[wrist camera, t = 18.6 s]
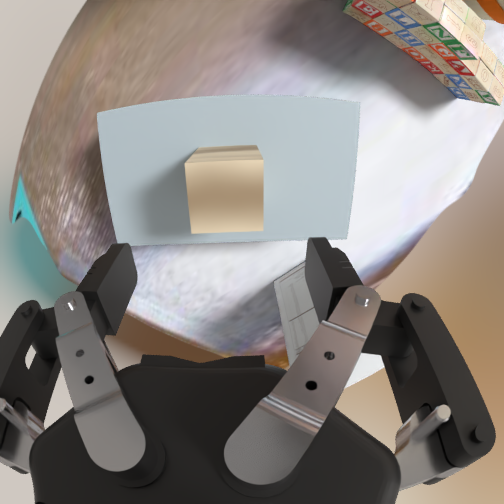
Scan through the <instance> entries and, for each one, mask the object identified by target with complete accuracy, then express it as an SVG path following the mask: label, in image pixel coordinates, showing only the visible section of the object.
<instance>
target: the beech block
mask: <svg viewBox="0 0 504 504" xmlns="http://www.w3.org/2000/svg"><path fill="white" fill-rule="evenodd" d="M185 174H186V185H187V196H188V206H189V215H190V224H191V232H192V234H197V233H222V232H250V231H263V223H264V160H263V157H262V155H261V153H260V151H259V149H258V147H257V145H235V146H213V147H199V148H198V149H197V150H196V151H195V152H194V153H193V154H192V156H191V157H190V158H189V159H188V160H187V161H186V162H185Z"/></svg>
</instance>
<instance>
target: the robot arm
mask: <svg viewBox="0 0 504 504" xmlns="http://www.w3.org/2000/svg"><path fill="white" fill-rule="evenodd" d="M305 280H306V283H307V286H308V289H309V292H310V296H311V299H312V302H313V305H314V308H315V311H316V314H317V318H318V321H319V324H320V325H319V326H318V328H317V329H316V331H315V332H314V334H313V335H312V337H311V338H310V340H309V341H308V343H307V344H306V345H305V347H304V348H303V350H302V351H301V353H300V354H299V355H298V357H297V358H296V360H295V361H294V362H293V364H292V365H291V367H290V368H289V369H288V371H286V370H284V369H282V368H279V367H276V366H272V365H267V364H265V359H264V355H260V356H233V357H228V358H224V359H220V360H215V361H210V362H205V363H197V362H192V361H188V360H184V359H180V358H177V357H173V356H160V355H142V359H141V363H139V364H135V365H131V366H128V367H126V368H124V369H122V370H120V371H119V370H118V368H117V366H116V364H115V362H114V359H113V358H112V355H111V353H110V351H109V349H108V346H107V344H106V342H105V340H104V338H105V335H116V333H117V331H118V328H119V326H120V323H121V320H122V318H123V316H124V313H125V311H126V308H127V306H128V303H129V301H130V298H131V296H132V294H133V291H134V289H135V287H136V284H137V270H136V266H135V263H134V259H133V255H132V251H131V247H130V245H129V244H128V243H114V244H112V245H111V246H110V248H109V249H108V251H107V252H106V254H103V255H102V256H101V257H99V258H98V259H97V260H96V261H95V262H94V264H93V265H92V267H91V269H89V271H88V272H87V275H85V277H84V279H83V280H82V282H81V283H80V285H79V286H78V288H77V290H76V291H72V292H68V293H66V294H64V295H62V296H61V297H60V298H59V299H58V300H57V301H56V303H55V305H54V307H52V308H48V309H41V307H40V305H39V303H38V302H37V301H35V300H30V301H27V302H25V303H23V304H22V305H20V306H19V308H17V310H16V311H15V313H14V315H13V316H12V318H11V319H10V321H9V323H8V324H7V326H6V328H5V330H4V331H3V333H2V335H1V337H0V462H1V463H3V464H4V465H6V466H9V467H10V468H12V469H14V470H16V471H17V472H19V473H22V474H27V473H31V477H32V481H33V487H34V495H35V504H395V501H396V498H397V495H398V492H399V491H401V490H404V489H407V488H410V487H413V486H415V485H418V484H421V483H423V484H427V485H431V484H435V483H437V482H439V481H441V480H443V479H445V478H447V477H449V476H451V475H453V474H454V473H456V472H458V471H460V470H462V469H463V468H465V467H467V466H468V465H470V464H471V463H473V462H475V461H476V460H478V459H480V458H481V457H483V456H484V455H486V454H487V453H488V452H489V451H490V450H491V449H492V447H493V445H494V443H495V438H496V435H495V434H496V433H495V428H494V425H493V422H492V420H491V417H490V415H489V412H488V410H487V407H486V405H485V403H484V400H483V398H482V396H481V394H480V391H479V389H478V387H477V385H476V383H475V381H474V379H473V376H472V374H471V372H470V370H469V368H468V366H467V364H466V362H465V360H464V358H463V356H462V355H461V353H460V351H459V349H458V347H457V346H456V344H455V342H454V340H453V338H452V336H451V334H450V333H449V331H448V329H447V328H446V326H445V324H444V322H443V321H442V319H441V317H440V316H439V314H438V313H437V311H436V309H435V308H434V306H433V305H432V303H431V302H430V301H429V300H428V299H427V298H425V297H424V296H422V295H419V294H415V293H409V294H406V295H405V296H403V298H402V300H401V302H400V303H394V302H386V301H382V300H381V298H380V296H379V294H378V293H377V292H376V291H375V290H373V289H372V288H369V287H367V286H364V285H363V284H362V282H361V280H360V278H359V276H358V275H357V273H356V271H355V269H354V268H353V266H352V264H351V263H350V262H349V259H348V258H347V256H346V254H345V253H344V252H342V251H341V250H340V249H338V248H332V247H331V245H330V243H329V242H328V240H327V238H326V237H309V238H308V242H307V252H306V261H305ZM31 345H32V346H33V348H34V349H35V351H36V354H35V357H34V359H33V361H32V364H31V366H30V368H29V370H28V368H27V367H26V363H25V357H26V354H27V352H28V350H29V348H30V346H31ZM361 353H365V354H373V355H381V358H382V361H383V364H384V366H385V369H386V372H387V375H388V378H389V381H390V384H391V387H392V390H393V393H394V396H395V400H396V403H397V406H398V410H399V413H400V416H401V420H402V423H403V425H402V426H401V427H400V428H399V430H398V431H397V434H396V439H395V440H396V450H395V453H394V454H393V453H392V451H391V450H390V449H389V448H388V447H387V446H385V445H384V444H383V443H381V442H380V441H378V440H377V439H376V438H374V437H373V436H371V435H370V434H369V433H367V432H366V431H365V430H363V429H362V428H361V427H359V426H358V425H357V424H356V423H354V422H353V421H351V420H350V419H349V418H348V417H346V416H345V415H344V414H342V413H341V412H340V411H339V410H337V409H336V408H335V405H336V403H337V401H338V400H339V397H340V396H341V394H342V392H343V390H344V388H345V386H346V384H347V382H348V380H349V378H350V376H351V374H352V372H353V370H354V368H355V366H356V364H357V361H358V359H359V357H360V355H361ZM61 367H62V370H63V373H64V376H65V380H66V384H67V387H68V390H69V394H70V397H71V400H72V403H73V406H74V407H73V408H72V409H70V410H69V411H68V412H67V413H65V414H64V415H63V416H62V417H61V418H59V419H58V420H57V421H56V422H54V423H53V424H52V425H51V426H49V427H48V428H47V429H46V430H45V428H44V420H45V416H46V413H47V410H48V406H49V403H50V399H51V396H52V393H53V390H54V387H55V384H56V381H57V378H58V375H59V373H60V370H61Z"/></svg>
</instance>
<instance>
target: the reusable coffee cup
mask: <svg viewBox="0 0 504 504" xmlns="http://www.w3.org/2000/svg"><path fill="white" fill-rule="evenodd" d="M462 1H463V2H464V3H465V4H466V5H467V6H468V7H470V8H471V9H472V10H473V11H474V12H475V13H476V15H477V16H478V17H479V18H480V19H484V20H494V21H496V22H498V23H501V24H504V0H462Z"/></svg>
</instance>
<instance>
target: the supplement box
mask: <svg viewBox="0 0 504 504" xmlns="http://www.w3.org/2000/svg"><path fill="white" fill-rule="evenodd" d="M274 287H275V292H276V297H277V302H278V307H279V312H280V317H281V322H282V327H283V333H284V338H285V343H286V348H287V354H288V359H289V364H290V367H291V365H292V364H293V362H294V361H295V360H296V358H297V357H298V355H299V354H300V353H301V351H302V350H303V348H304V347H305V345H306V344H307V343H308V341H309V340H310V338H311V337H312V335H313V334H314V332H315V331H316V329H317V328H318V326H319V325H320V324H319V321H318V318H317V314H316V311H315V308H314V305H313V302H312V299H311V296H310V292H309V289H308V286H307V283H306V280H305V262H304V263H302V264H301V265H299V266H297V267H296V268H294V269H293V270H291V271H290V272H288V273H286V274H285V275H283V276H282V277H280V278H279V279H277V280H275V281H274ZM384 367H385V366H384V364H383V361H382V358H381V355H373V354H365V353H361V355H360V357H359V359H358V361H357V364H356V366H355V368H354V370H353V372H352V374H351V376H350V378H349V380H348V382H347V384H346V386H345V388H346V387H348V386H350V385H352V384H354V383H356V382H358V381H360V380H362V379H364V378H366V377H368V376H370V375H371V374H373V373H375V372H377V371H379V370H380V369H382V368H384Z"/></svg>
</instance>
